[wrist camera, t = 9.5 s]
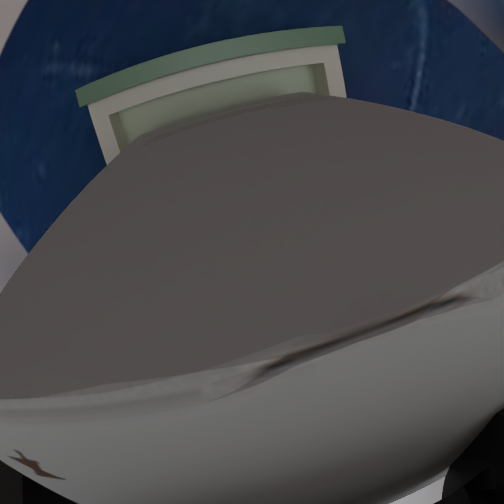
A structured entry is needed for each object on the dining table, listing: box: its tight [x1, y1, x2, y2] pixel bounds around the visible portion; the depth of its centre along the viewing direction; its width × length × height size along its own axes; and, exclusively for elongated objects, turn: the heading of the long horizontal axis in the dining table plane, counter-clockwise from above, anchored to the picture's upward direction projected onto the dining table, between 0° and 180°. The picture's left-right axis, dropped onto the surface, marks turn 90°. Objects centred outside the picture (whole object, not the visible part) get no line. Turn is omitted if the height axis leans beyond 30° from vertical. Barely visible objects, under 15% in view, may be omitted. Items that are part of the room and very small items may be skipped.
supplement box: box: [0, 92, 504, 504], centre depth 10 cm, size 9×9×15 cm
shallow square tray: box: [75, 26, 346, 165], centre depth 18 cm, size 15×14×4 cm
